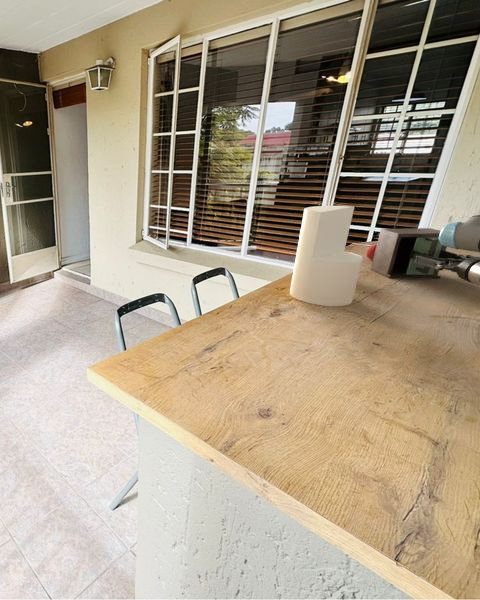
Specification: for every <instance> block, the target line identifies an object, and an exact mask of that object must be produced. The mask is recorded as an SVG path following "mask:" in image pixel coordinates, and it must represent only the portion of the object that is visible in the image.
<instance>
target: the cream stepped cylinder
mask: <svg viewBox="0 0 480 600" xmlns="http://www.w3.org/2000/svg"><path fill="white" fill-rule="evenodd" d="M354 211H355V206H353V205H352V206H351V205H317V206H316V205H315V206H308V207H305V208H304V209H303V216H302V220H301V227H300V231H299V239H298V244H297V249H296V255H295V260H294V266H293V271H292V276H291V277H292V278H291V283H290V289H289V295H290V296H291V297H292V298H293V299H295V300H298V301H300V302H304V303H307V304H311V305H318V306H324V307H341V306H342V307H344V306H348V305H351V304H352V303H353V301H354V297H355V292H356V288H357V285H358V281H359V277H360V272H361V269H362V264H363V262H364V261H363V260H364V257H363V256H362V255H360V254H358V253H356V252H350V251H346V250H345V249H346V246H347V241H348V237H349V233H350V228H351V224H352V220H353V215H354Z"/></svg>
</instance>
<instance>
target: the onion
mask: <svg viewBox="0 0 480 600" xmlns="http://www.w3.org/2000/svg"><path fill="white" fill-rule="evenodd" d="M376 247H377V243H375V244H373V245H371V246H369V247H368V248H367V249H366V251H365V255H366V258H367V259H369V260H370V261H371V262H373V258H374V255H375V251H376Z"/></svg>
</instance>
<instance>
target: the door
mask: <svg viewBox="0 0 480 600" xmlns="http://www.w3.org/2000/svg"><path fill="white" fill-rule="evenodd" d="M441 248H442V244H441V243H440V241H439V237H420V238H417V239H416V242H415V246H414V249H413V250H415V251H418V252H421V253H426V254H427V256H432V257H437V258H438V257H439V254H440V251H441ZM434 270H435V268H431V267H428V266H424V265H421V264H417V263H415V259H412V258H411V259H410V262H409V266H408V269H407V273H406V274H407V275H433V273H434Z"/></svg>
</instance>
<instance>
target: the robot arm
mask: <svg viewBox="0 0 480 600" xmlns="http://www.w3.org/2000/svg"><path fill="white" fill-rule="evenodd" d="M440 231H441V232H440V235H439V241H440V243H441V244H442V245H443V246H446V247H447V248H451V249H455V250H461V251H467V252H468V251H469V252H474V253H475V252H476V253H480V208H479V209H478V210H476V211H475V213H473V214H472V215H471V216H470V217H468V218H467V219H466V220H465V221H452V222H448V223H446V225H444V227H442V229H441V230H440ZM409 258H412V259H415V263H417V264H421V265H424V266H428V267H431V268H435V269H437V270H439V272H441V271H443V270H447V271H450V272H453V273H456V275H457V277H458V278H459V279H461V280H462V281H463V280H464V281H465V282H468V283H471V284H474V285H477V286H480V256H473V255H471V254H466V255H463V254H458V253H455V252H451V251H447V250H446V251H444V250H441V251H440V254H439V257H438V258H437V257H432V256H427V254H426V253H421V252H418V251H415V250H411V252H410V255H409Z"/></svg>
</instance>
